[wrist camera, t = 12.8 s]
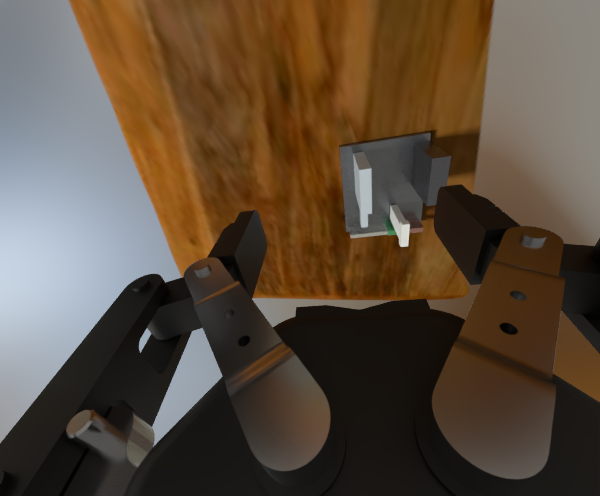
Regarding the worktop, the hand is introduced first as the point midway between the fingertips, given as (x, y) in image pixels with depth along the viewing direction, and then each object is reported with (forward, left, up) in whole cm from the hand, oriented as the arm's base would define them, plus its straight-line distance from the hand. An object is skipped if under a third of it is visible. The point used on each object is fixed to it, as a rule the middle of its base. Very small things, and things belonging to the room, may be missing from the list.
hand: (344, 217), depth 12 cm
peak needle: (+9, -15, -27) cm, 32 cm away
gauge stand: (+7, -11, -28) cm, 31 cm away
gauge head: (+4, -10, -27) cm, 29 cm away
